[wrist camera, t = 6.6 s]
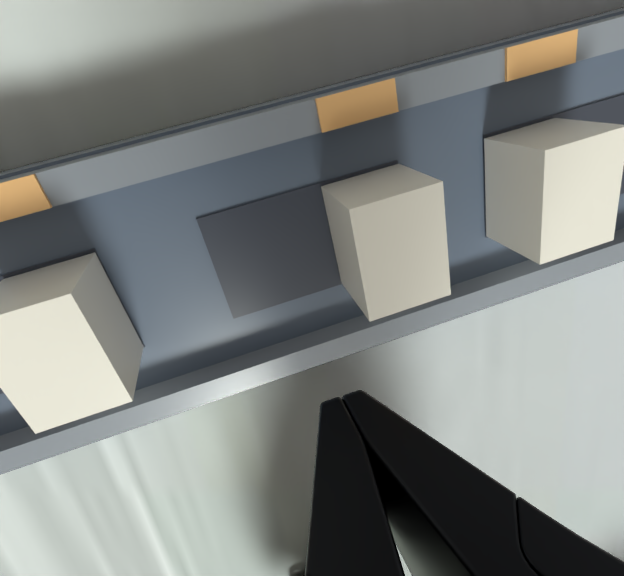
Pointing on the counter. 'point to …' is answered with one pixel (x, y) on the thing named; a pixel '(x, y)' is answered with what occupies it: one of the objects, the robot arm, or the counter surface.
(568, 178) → the beige block
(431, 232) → the off-white rectangular block
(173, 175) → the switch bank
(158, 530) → the counter surface
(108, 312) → the cream block
